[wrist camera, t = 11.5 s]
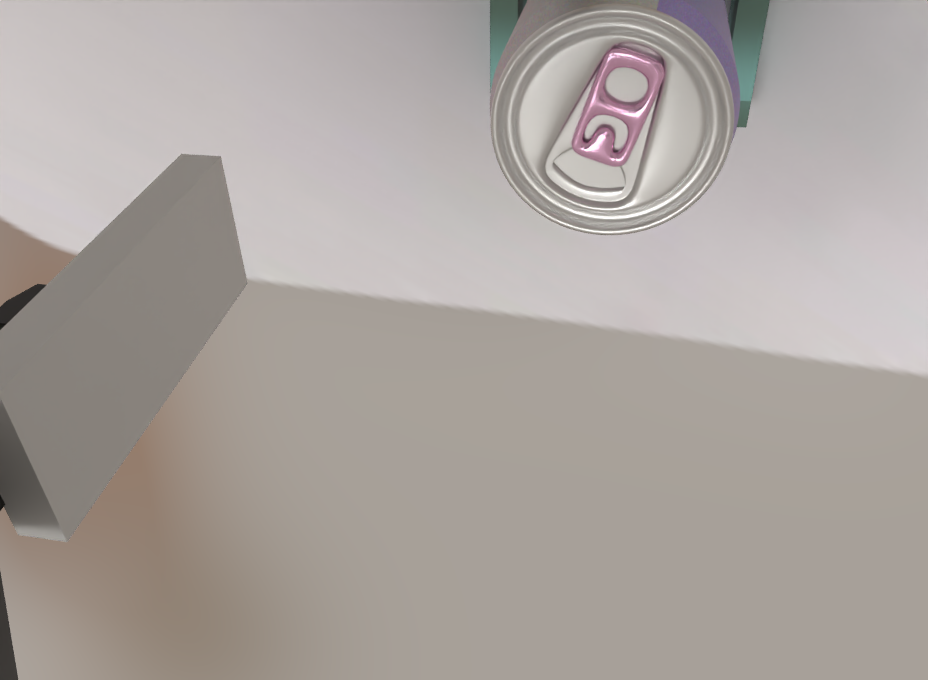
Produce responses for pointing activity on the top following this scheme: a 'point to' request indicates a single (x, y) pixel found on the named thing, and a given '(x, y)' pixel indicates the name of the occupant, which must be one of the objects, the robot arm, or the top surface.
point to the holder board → (743, 26)
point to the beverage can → (615, 109)
